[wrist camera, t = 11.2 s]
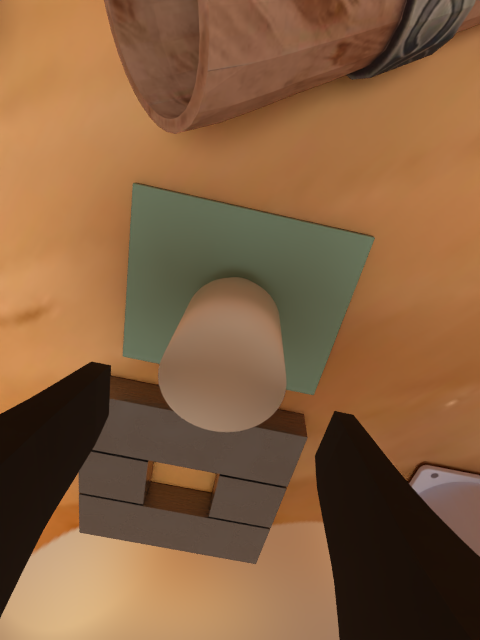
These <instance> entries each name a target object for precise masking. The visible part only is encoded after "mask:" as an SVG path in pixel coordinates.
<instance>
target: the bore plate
mask: <svg viewBox="0 0 480 640" xmlns="http://www.w3.org/2000/svg"><path fill="white" fill-rule="evenodd" d="M307 438H308V437H307V431H306V425H305V419H304V415H303V414H298V413H293V412H288V411H283V410H278V409H277V410H276V411H275V413H274V414H273V415H272V416H271V417H269V418H268V419H267V420H265V421H264V422H263V423H261V424H259V425H257V426H255V427H252V428H249V429H246V430H242V431H236V432H217V431H210V430H207V429H203V428H200V427H197V426H195V425H193V424H191V423H189V422H187V421H186V420H184V419H182V418H181V417H180V416H179V415H177V414H176V413H175V412H174V411H173V410H172V409H171V408H170V406H169V405H168V404H167V402H166V401H165V399H164V397H163V395H162V393H161V390H160V386H158V385H153V384H148V383H143V382H138V381H133V380H128V379H123V378H118V377H113V376H111V377H110V401H109V416H108V418H107V420H106V423H105V425H104V427H103V429H102V432H101V434H100V436H99V438H98V440H97V442H96V444H95V446H94V448H93V449H92V451H91V453H90V454H89V456H88V457H87V459H86V461H85V462H84V464H83V466H82V467H81V469H80V470H79V528H80V533H86V534H91V535H96V536H102V537H107V538H113V539H119V540H124V541H130V542H135V543H141V544H147V545H152V546H158V547H164V548H169V549H175V550H180V551H186V552H191V553H197V554H202V555H208V556H214V557H219V558H225V559H230V560H236V561H242V562H247V563H253V564H256V562H257V560H258V557H259V555H260V552H261V550H262V548H263V545H264V543H265V540H266V538H267V536H268V533H269V531H270V528H271V526H272V523H273V521H274V518H275V516H276V513H277V511H278V509H279V506H280V504H281V501H282V499H283V496H284V494H285V491H286V489H287V488H286V487H288V484H289V482H290V479H291V477H292V474H293V472H294V469H295V467H296V464H297V462H298V460H299V457H300V455H301V452H302V450H303V447H304V445H305V442H306V440H307ZM153 462H159V463H165V464H170V465H175V466H181V467H186V468H191V469H196V470H202V471H207V472H212V473H217V475H216V479H215V483H214V487H213V491H212V493H208V492H202V491H197V490H192V489H186V488H181V487H176V486H170V485H165V484H160V483H154V482H151V477H152V469H153Z"/></svg>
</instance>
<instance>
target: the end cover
mask: <svg viewBox="0 0 480 640" xmlns="http://www.w3.org/2000/svg"><path fill="white" fill-rule="evenodd" d="M158 381H159V386H160V390H161V393H162V395H163V397H164V399H165V401H166V402H167V404H168V405H169V406H170V408H171V409H172V410H173V411H174V412H175V413H176V414H177V415H179V416H180V417H181V418H182V419H184V420H186V421H187V422H189V423H191V424H193V425H195V426H197V427H200V428H203V429H207V430H210V431H217V432H236V431H242V430H246V429H249V428H252V427H255V426H257V425H259V424H261V423H263V422H264V421H265V420H267V419H268V418H269V417H271V416H272V415H273V414H274V413H275V411H276V410H277V409H278V408H279V406H280V404H281V403H282V401H283V398H284V395H285V392H286V384H287V383H286V371H285V362H284V353H283V344H282V335H281V327H280V318H279V312H278V309H277V306H276V304H275V302H274V300H273V299H272V297H271V296H270V295H269V294H268V293H267V292H266V291H265V290H264V289H263V288H262V287H260V286H259V285H257V284H255V283H253V282H251V281H250V280H247V279H245V278H241V277H229V278H222V279H217V280H214V281H212V282H210V283H208V284H206V285H204V286H203V287H201V288H200V289H199V290H198V291H197V292H196V293H195V295H194V296H193V297H192V299H191V301H190V303H189V305H188V307H187V309H186V311H185V313H184V315H183V317H182V319H181V321H180V323H179V325H178V327H177V329H176V331H175V333H174V335H173V337H172V339H171V341H170V343H169V345H168V347H167V349H166V351H165V353H164V355H163V357H162V359H161V362H160V365H159V370H158Z"/></svg>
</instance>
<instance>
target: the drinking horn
mask: <svg viewBox="0 0 480 640" xmlns="http://www.w3.org/2000/svg"><path fill="white" fill-rule="evenodd" d="M104 2H105V7H106V11H107V15H108V19H109V23H110V27H111V31H112V35H113V38H114V41H115V44H116V48H117V51H118V54H119V57H120V59H121V62H122V65H123V67H124V70H125V73H126V75H127V77H128V80H129V82H130V84H131V86H132V89H133V91H134V93H135V94H136V96H137V98H138V100H139V102H140V103H141V105H142V107H143V108H144V110H145V111H146V112H147V114H148V115H149V117H150V118H151V119H152V120H153V121H154V122H155V123H156V124H157V125H158V126H159V127H160V128H162V129H163V130H165V131H166V132H170V133H174V134H176V133H180V132H184V131H188V130H192V129H196V128H200V127H204V126H208V125H212V124H216V123H220V122H223V121H226V120H228V119H231V118H234V117H237V116H240V115H242V114H245V113H248V112H251V111H254V110H256V109H259V108H261V107H264V106H266V105H269V104H271V103H274V102H276V101H279V100H281V99H284V98H286V97H288V96H291V95H294V94H297V93H299V92H302V91H305V90H308V89H310V88H313V87H316V86H319V85H321V84H324V83H327V82H330V81H332V80H335V79H337V78H340V77H342V76H344V75H346V76H348V77H349V78H350V79H352V80H353V79H363V78H371V77H373V76H376V75H379V74H381V73H384V72H387V71H389V70H392V69H395V68H397V67H400V66H403V65H405V64H408V63H411V62H413V61H416V60H418V59H421V58H424V57H426V56H429V55H432V54H433V53H434V52H435V51H437V50H438V49H439V48H440V47H442V46H443V45H444V44H445V43H447V42H448V41H449V40H450V39H452V38H453V36H454V35H455V33H457V32H460V31H462V30H465V29H468V28H470V27H473V26H476V25H478V24H480V0H104Z"/></svg>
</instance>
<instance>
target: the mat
mask: <svg viewBox="0 0 480 640" xmlns="http://www.w3.org/2000/svg"><path fill="white" fill-rule="evenodd" d="M374 239H375V238H374V237H373V236H370V235H365V234H361V233H357V232H352V231H348V230H343V229H339V228H334V227H330V226H326V225H321V224H317V223H312V222H308V221H303V220H299V219H294V218H290V217H286V216H281V215H277V214H272V213H268V212H263V211H259V210H255V209H250V208H246V207H241V206H237V205H232V204H228V203H224V202H219V201H215V200H210V199H206V198H201V197H197V196H193V195H188V194H184V193H179V192H175V191H170V190H166V189H161V188H157V187H153V186H148V185H144V184H139V183H133V190H132V207H131V224H130V241H129V258H128V275H127V292H126V309H125V326H124V343H123V357H128V358H133V359H138V360H143V361H148V362H153V363H158V364H160V362H161V359H162V357H163V355H164V353H165V351H166V349H167V347H168V345H169V343H170V341H171V339H172V337H173V335H174V333H175V331H176V329H177V327H178V325H179V323H180V321H181V319H182V317H183V315H184V313H185V311H186V309H187V307H188V305H189V303H190V301H191V299H192V297H193V296H194V295H195V293H196V292H197V291H198V290H199V289H200V288H201V287H203V286H204V285H206V284H208V283H210V282H212V281H214V280H217V279H222V278H229V277H241V278H245V279H247V280H250V281H251V282H253V283H255V284H257V285H259V286H260V287H262V288H263V289H264V290H265V291H266V292H267V293H268V294H269V295H270V296H271V297H272V299H273V300H274V302H275V304H276V306H277V309H278V312H279V318H280V327H281V335H282V344H283V353H284V362H285V371H286V383H287V384H286V390H291V391H296V392H301V393H306V394H311V395H314V393H315V390H316V388H317V385H318V383H319V380H320V378H321V375H322V372H323V370H324V367H325V365H326V362H327V360H328V357H329V355H330V352H331V349H332V347H333V344H334V342H335V339H336V337H337V334H338V331H339V329H340V326H341V324H342V321H343V319H344V316H345V313H346V311H347V308H348V306H349V303H350V301H351V298H352V295H353V293H354V290H355V288H356V285H357V283H358V280H359V277H360V275H361V272H362V270H363V267H364V265H365V262H366V259H367V257H368V254H369V252H370V249H371V247H372V244H373V241H374Z"/></svg>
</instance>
